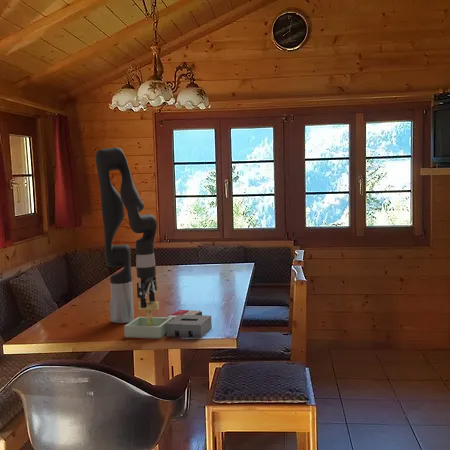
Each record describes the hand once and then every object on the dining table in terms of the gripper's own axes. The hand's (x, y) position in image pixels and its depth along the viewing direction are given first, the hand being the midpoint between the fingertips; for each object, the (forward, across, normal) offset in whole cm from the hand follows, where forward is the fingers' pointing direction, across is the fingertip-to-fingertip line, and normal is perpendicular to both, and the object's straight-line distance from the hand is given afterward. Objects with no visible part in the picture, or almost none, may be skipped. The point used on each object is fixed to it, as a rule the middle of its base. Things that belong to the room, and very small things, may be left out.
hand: (148, 305), depth 230 cm
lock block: (+11, +3, -16) cm, 20 cm away
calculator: (+12, +18, -8) cm, 23 cm away
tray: (+11, 0, 0) cm, 11 cm away
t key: (+11, 0, 0) cm, 11 cm away
